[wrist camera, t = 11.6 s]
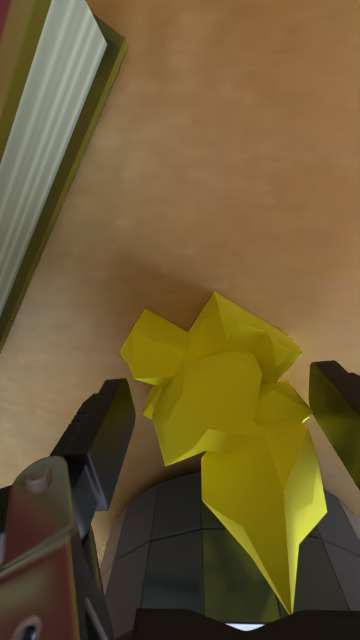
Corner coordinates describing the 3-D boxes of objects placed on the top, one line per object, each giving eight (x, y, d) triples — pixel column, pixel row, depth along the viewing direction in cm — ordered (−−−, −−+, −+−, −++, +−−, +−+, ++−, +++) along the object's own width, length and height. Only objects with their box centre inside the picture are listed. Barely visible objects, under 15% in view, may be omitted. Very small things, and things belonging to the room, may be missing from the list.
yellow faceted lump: (169, 264, 10) (99, 365, 3) (327, 358, 11) (570, 606, 4) (109, 371, 12) (-21, 591, 5) (248, 443, 13) (312, 713, 6)
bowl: (85, 465, 14) (14, 618, 9) (379, 451, 13) (522, 629, 7) (138, 613, 20) (114, 767, 14) (350, 617, 18) (419, 793, 12)
